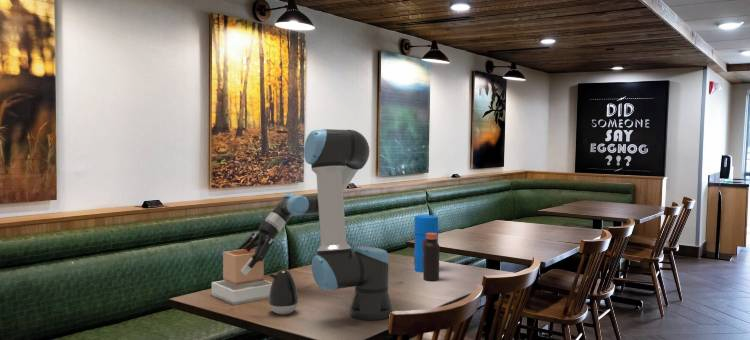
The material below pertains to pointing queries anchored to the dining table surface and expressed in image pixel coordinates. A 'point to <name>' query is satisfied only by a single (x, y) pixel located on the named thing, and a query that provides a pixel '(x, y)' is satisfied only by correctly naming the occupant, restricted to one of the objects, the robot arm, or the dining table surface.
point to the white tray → (241, 291)
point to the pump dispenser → (283, 293)
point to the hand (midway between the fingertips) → (236, 271)
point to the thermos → (423, 237)
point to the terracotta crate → (241, 267)
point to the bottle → (431, 258)
